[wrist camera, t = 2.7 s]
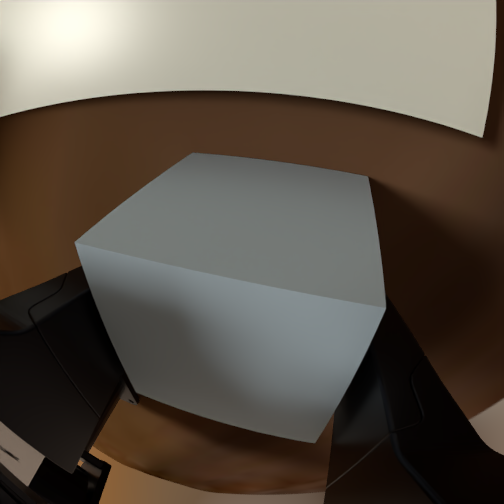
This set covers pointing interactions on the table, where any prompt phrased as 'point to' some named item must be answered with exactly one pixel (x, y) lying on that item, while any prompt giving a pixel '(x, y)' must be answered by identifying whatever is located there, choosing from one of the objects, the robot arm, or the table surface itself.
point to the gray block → (241, 289)
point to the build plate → (255, 52)
